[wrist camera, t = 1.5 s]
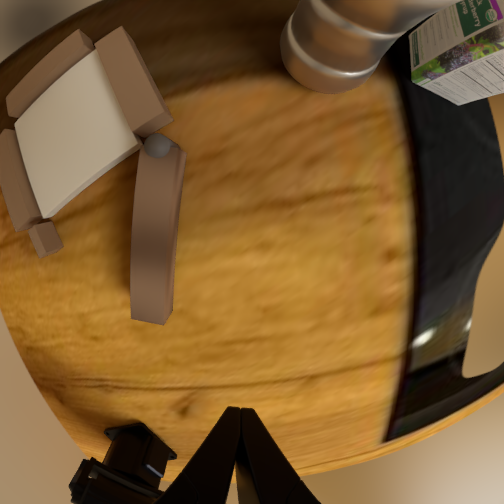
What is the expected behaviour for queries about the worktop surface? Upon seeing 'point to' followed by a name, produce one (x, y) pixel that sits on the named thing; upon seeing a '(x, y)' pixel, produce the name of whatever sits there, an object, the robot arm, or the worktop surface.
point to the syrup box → (461, 51)
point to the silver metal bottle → (346, 38)
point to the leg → (155, 229)
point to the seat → (74, 127)
